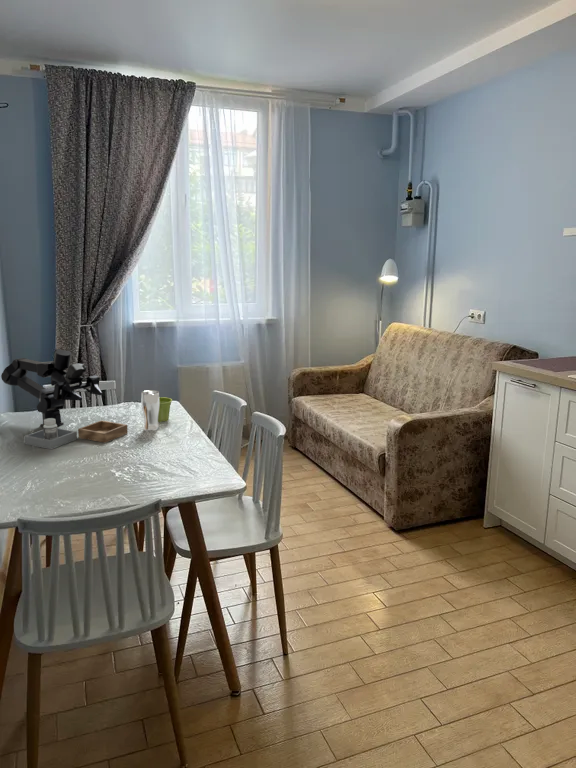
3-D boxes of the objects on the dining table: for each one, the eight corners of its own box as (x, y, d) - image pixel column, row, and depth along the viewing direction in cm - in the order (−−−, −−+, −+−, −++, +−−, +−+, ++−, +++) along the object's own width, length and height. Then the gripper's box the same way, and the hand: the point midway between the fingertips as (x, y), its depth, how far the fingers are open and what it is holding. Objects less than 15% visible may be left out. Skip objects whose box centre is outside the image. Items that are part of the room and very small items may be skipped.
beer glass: (162, 426, 233) (161, 390, 230) (157, 432, 226) (156, 394, 223) (145, 426, 234) (144, 389, 230) (139, 431, 227) (138, 394, 224)
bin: (24, 443, 210) (24, 436, 209) (51, 434, 221) (51, 426, 221) (51, 449, 205) (50, 441, 205) (77, 439, 216) (76, 431, 216)
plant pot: (176, 418, 246) (175, 398, 244) (166, 424, 237) (166, 403, 235) (155, 416, 248) (155, 396, 246) (145, 422, 239) (145, 401, 237)
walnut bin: (78, 437, 218) (78, 428, 217) (101, 428, 229) (101, 420, 228) (105, 442, 213) (104, 433, 212) (127, 433, 224) (127, 424, 223)
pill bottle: (46, 439, 215) (45, 417, 214) (59, 439, 216) (58, 417, 214) (42, 443, 211) (40, 421, 209) (56, 443, 211) (54, 421, 209)
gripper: (45, 364, 212) (73, 381, 205) (87, 356, 227) (114, 373, 221) (42, 391, 216) (69, 409, 209) (84, 382, 232) (110, 398, 225)
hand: (91, 396), depth 216 cm, fingers open, 9 cm apart
